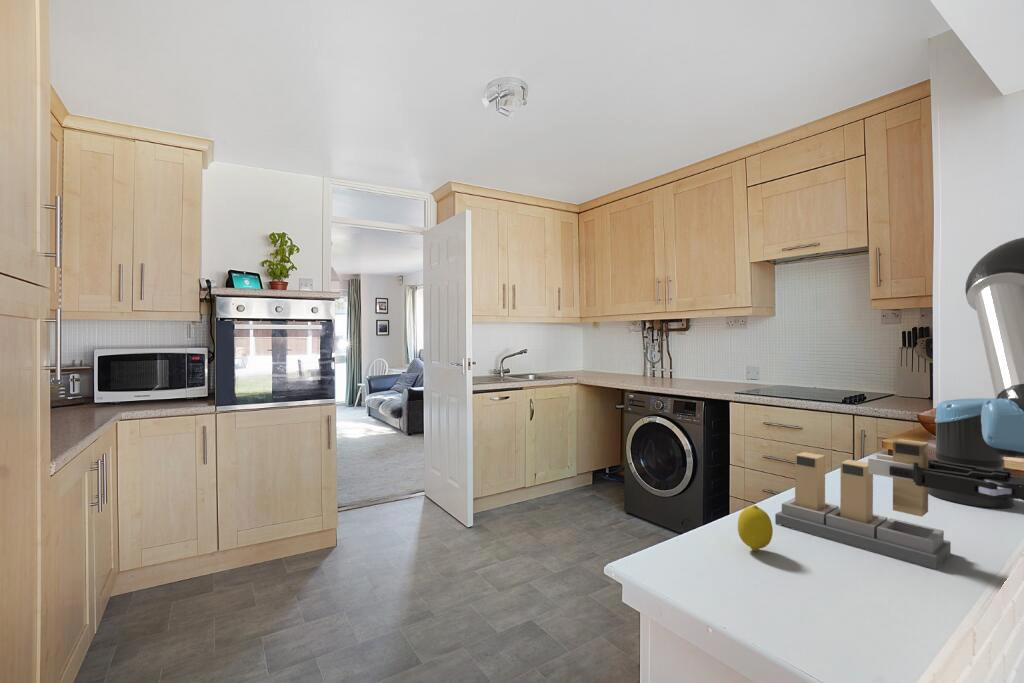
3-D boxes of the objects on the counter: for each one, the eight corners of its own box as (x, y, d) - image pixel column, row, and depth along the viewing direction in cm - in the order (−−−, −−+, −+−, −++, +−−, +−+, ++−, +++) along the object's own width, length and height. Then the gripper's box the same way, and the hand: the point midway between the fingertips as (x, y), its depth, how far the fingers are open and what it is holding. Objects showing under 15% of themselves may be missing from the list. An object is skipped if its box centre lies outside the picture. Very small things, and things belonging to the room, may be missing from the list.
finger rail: (796, 512, 105) (796, 447, 105) (950, 553, 85) (950, 472, 85) (775, 523, 99) (775, 454, 99) (936, 569, 79) (936, 483, 79)
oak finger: (899, 505, 88) (899, 439, 88) (928, 511, 85) (928, 442, 85) (892, 510, 85) (892, 441, 86) (921, 517, 82) (921, 445, 82)
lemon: (769, 546, 88) (769, 502, 88) (775, 559, 83) (775, 512, 83) (735, 542, 90) (736, 499, 90) (739, 555, 84) (739, 508, 84)
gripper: (1059, 535, 66) (856, 492, 84) (1070, 509, 76) (887, 476, 95) (1060, 479, 66) (856, 449, 84) (1070, 461, 76) (887, 437, 95)
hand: (873, 463), depth 90 cm, fingers closed on oak finger, 4 cm apart
